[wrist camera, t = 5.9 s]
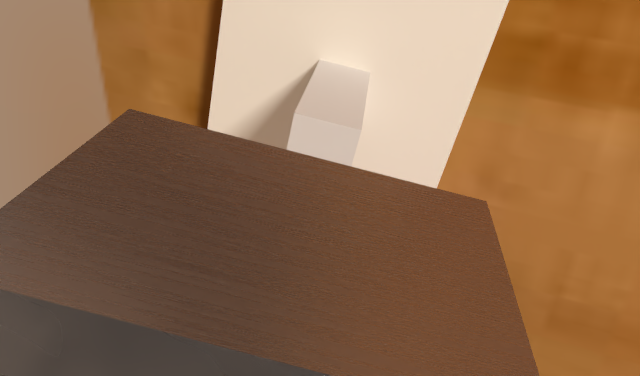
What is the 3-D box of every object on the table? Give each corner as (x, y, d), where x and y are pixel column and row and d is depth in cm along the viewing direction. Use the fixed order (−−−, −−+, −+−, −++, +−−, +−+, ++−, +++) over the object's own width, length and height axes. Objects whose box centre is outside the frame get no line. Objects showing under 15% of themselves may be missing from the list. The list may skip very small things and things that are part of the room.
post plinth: (248, -107, 23) (172, -110, 15) (512, -39, 23) (572, -8, 15) (212, 167, 30) (146, 261, 22) (415, 220, 30) (422, 333, 22)
